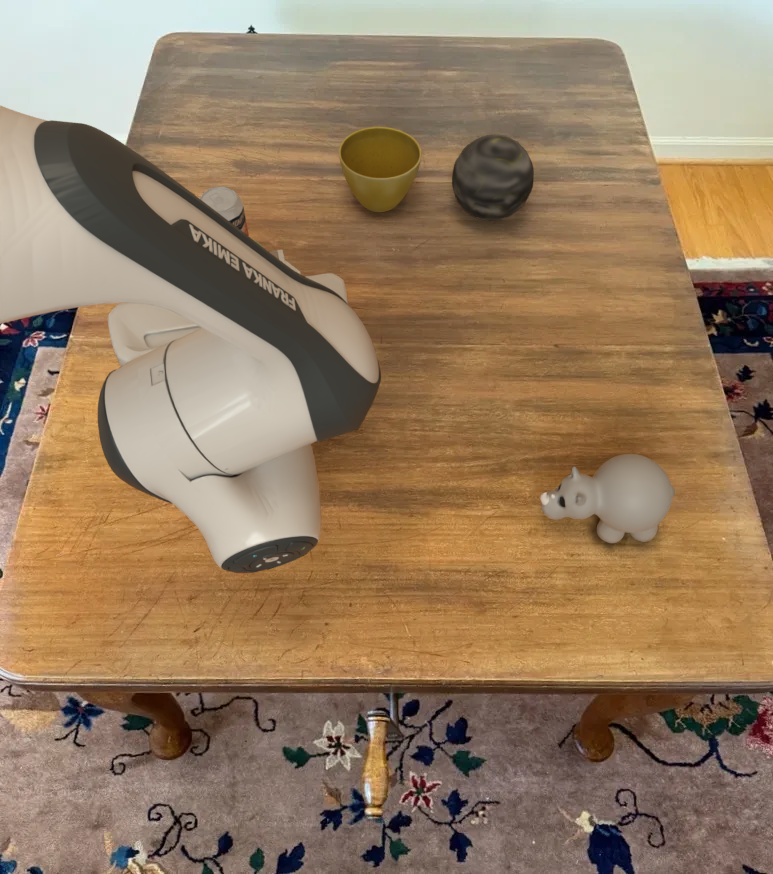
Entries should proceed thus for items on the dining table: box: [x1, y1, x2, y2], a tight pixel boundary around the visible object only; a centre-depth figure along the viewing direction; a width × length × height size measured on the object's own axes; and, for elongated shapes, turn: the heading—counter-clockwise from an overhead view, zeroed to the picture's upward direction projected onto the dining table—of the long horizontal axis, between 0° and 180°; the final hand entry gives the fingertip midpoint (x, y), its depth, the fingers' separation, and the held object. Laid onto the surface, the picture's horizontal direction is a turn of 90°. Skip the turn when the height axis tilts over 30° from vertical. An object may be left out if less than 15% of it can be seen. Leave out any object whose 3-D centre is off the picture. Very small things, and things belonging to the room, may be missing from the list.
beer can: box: [199, 186, 250, 237], centre depth 82 cm, size 5×5×12 cm
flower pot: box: [338, 126, 423, 213], centre depth 93 cm, size 10×10×7 cm
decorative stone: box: [451, 133, 535, 222], centre depth 91 cm, size 10×10×10 cm
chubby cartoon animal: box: [539, 453, 676, 544], centre depth 69 cm, size 7×12×8 cm, turn 91°
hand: (223, 262), depth 68 cm, fingers open, 8 cm apart
